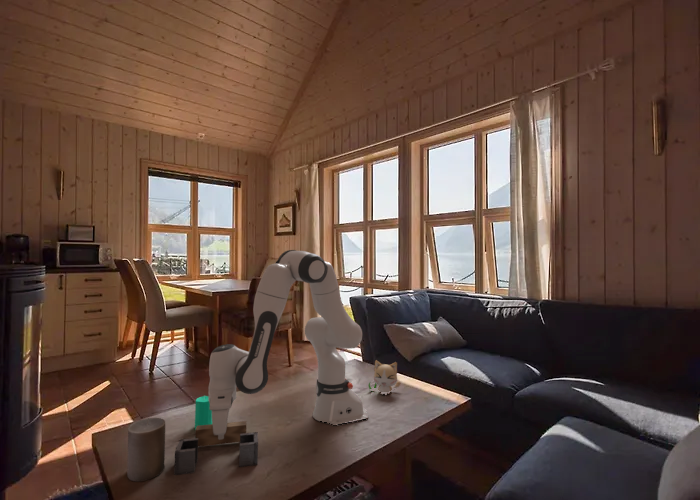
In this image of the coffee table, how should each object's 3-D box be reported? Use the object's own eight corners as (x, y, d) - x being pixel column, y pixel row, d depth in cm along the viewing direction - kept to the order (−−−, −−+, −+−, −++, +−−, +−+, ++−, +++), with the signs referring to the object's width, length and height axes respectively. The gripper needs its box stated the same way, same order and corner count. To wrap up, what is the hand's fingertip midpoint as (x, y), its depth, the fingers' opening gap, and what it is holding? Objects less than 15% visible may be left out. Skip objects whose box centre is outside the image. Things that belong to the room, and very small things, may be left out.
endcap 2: (256, 451, 118) (257, 431, 118) (257, 464, 111) (258, 443, 111) (239, 454, 117) (240, 433, 117) (239, 467, 110) (239, 445, 110)
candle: (205, 432, 130) (207, 398, 130) (191, 430, 131) (192, 396, 132) (215, 424, 136) (216, 392, 136) (201, 422, 137) (202, 390, 137)
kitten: (366, 395, 169) (367, 363, 169) (370, 387, 179) (371, 357, 179) (398, 399, 165) (399, 366, 166) (400, 391, 175) (401, 360, 175)
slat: (246, 436, 125) (246, 420, 125) (246, 441, 122) (246, 424, 122) (196, 442, 121) (196, 425, 121) (195, 446, 118) (195, 430, 118)
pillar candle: (170, 462, 111) (171, 413, 111) (154, 482, 101) (155, 428, 102) (138, 462, 111) (139, 413, 111) (118, 482, 101) (120, 428, 101)
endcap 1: (174, 475, 105) (174, 452, 105) (178, 460, 112) (179, 439, 112) (194, 472, 106) (194, 450, 106) (197, 458, 113) (198, 437, 114)
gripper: (215, 383, 131) (214, 421, 131) (209, 407, 111) (208, 452, 111) (233, 382, 133) (233, 420, 133) (230, 405, 113) (229, 449, 113)
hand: (221, 435), depth 122 cm, fingers closed on slat, 3 cm apart
